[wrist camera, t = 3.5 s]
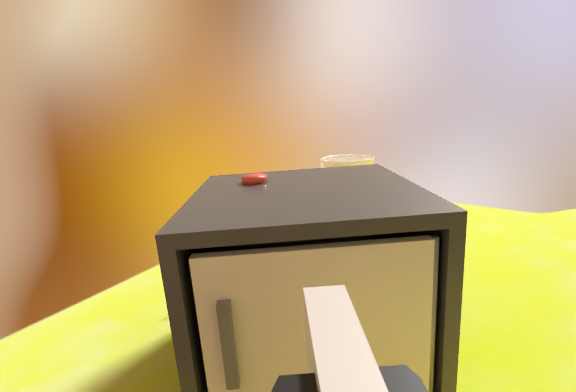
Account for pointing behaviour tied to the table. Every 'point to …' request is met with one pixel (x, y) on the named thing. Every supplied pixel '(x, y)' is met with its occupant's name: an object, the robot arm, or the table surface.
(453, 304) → the cabinet with door
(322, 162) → the candle holder
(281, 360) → the side door
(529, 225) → the table surface
